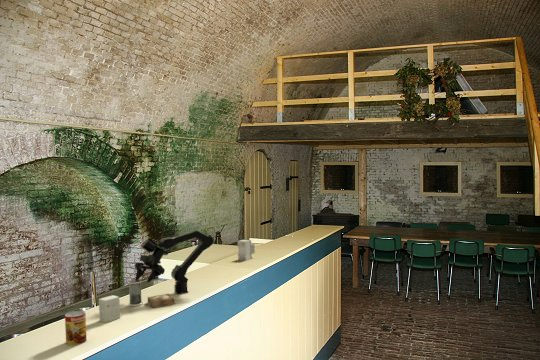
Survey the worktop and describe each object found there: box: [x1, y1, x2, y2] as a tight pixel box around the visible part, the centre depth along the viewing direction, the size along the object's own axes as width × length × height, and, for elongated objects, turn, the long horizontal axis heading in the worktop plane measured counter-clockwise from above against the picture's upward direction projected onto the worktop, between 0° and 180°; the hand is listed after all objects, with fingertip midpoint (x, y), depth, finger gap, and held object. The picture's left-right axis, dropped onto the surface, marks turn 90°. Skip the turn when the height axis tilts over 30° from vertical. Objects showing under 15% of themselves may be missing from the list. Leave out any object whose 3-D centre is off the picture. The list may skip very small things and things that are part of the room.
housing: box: [128, 279, 144, 308], centre depth 237 cm, size 7×7×12 cm
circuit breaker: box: [237, 239, 256, 262], centre depth 355 cm, size 8×14×15 cm, turn 148°
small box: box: [98, 294, 121, 323], centre depth 213 cm, size 8×6×10 cm
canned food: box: [64, 310, 88, 347], centre depth 185 cm, size 8×8×12 cm
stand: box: [147, 293, 176, 309], centre depth 237 cm, size 12×12×3 cm
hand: (141, 281), depth 241 cm, fingers open, 9 cm apart
